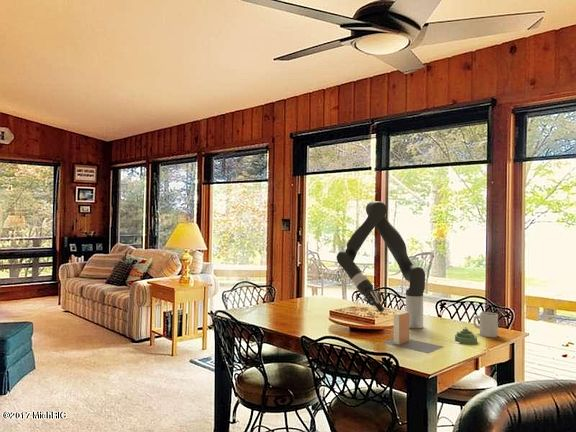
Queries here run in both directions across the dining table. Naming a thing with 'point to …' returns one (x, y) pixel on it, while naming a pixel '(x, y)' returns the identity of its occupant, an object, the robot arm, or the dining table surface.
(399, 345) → the mat
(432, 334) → the dining table surface
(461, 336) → the decorative artifact
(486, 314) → the mug
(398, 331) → the orange white box
